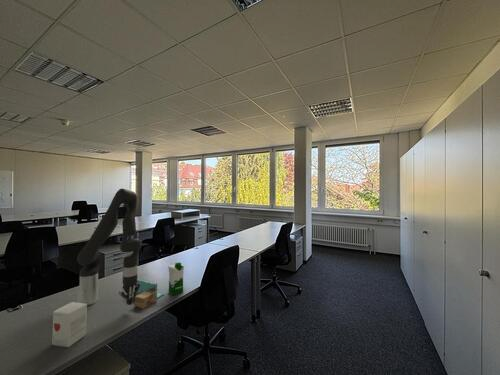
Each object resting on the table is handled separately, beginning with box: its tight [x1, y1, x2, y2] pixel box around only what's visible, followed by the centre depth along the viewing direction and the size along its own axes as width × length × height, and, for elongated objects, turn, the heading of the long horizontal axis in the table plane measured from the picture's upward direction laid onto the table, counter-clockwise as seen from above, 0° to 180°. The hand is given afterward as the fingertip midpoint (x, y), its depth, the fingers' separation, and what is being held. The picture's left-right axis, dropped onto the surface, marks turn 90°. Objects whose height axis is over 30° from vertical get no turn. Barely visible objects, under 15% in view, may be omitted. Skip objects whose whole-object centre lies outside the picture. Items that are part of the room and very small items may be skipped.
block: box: [134, 290, 158, 309], centre depth 133 cm, size 10×7×6 cm
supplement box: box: [51, 301, 88, 348], centre depth 100 cm, size 9×9×15 cm
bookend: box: [134, 278, 165, 300], centre depth 144 cm, size 8×20×10 cm, turn 68°
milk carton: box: [168, 262, 185, 296], centre depth 149 cm, size 9×9×20 cm
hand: (129, 304), depth 124 cm, fingers closed
